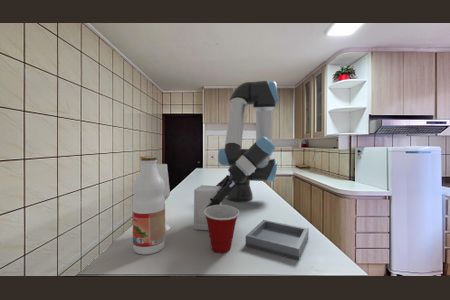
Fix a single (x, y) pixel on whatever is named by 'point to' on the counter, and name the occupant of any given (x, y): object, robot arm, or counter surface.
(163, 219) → the fruit juice
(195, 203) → the supplement box
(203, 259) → the counter surface
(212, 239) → the plastic cup
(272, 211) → the counter surface
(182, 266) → the counter surface
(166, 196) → the champagne flute
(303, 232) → the tray
